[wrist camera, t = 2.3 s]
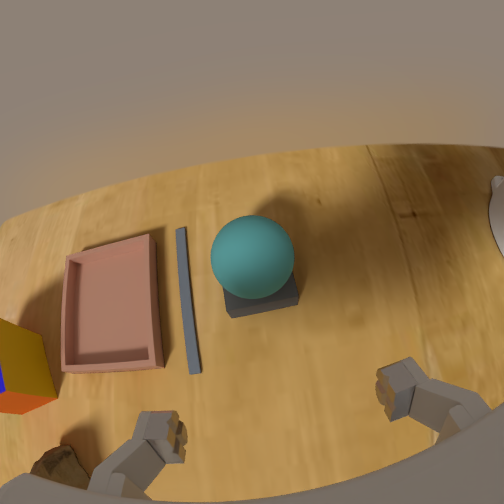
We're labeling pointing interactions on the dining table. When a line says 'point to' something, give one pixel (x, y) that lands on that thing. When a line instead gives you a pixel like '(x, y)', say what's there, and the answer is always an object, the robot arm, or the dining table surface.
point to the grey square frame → (262, 300)
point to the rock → (61, 468)
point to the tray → (111, 309)
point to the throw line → (187, 303)
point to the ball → (252, 257)
